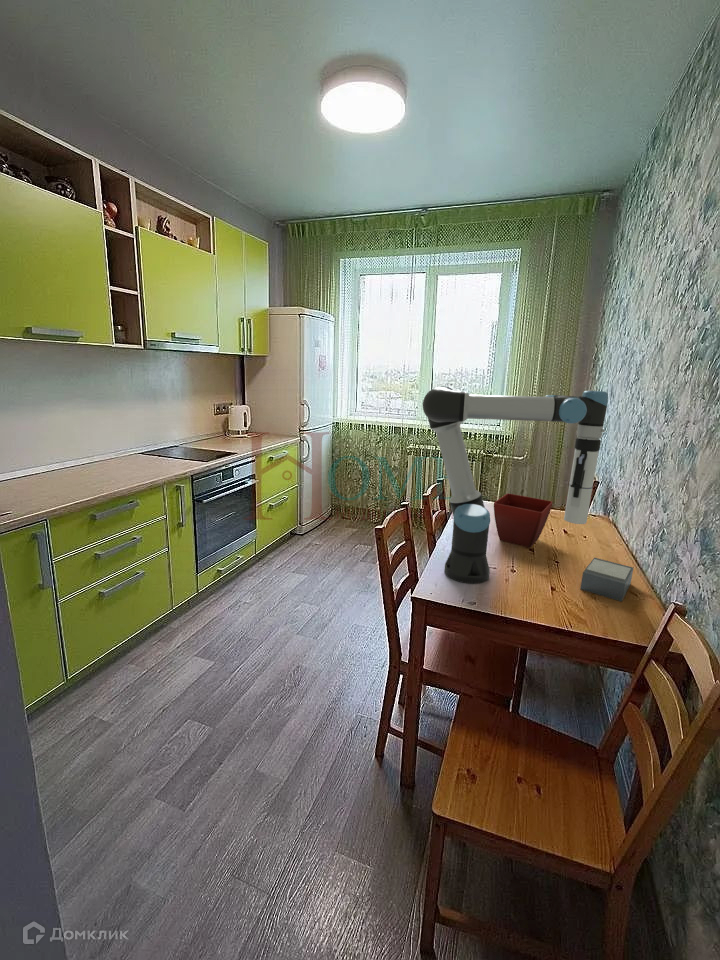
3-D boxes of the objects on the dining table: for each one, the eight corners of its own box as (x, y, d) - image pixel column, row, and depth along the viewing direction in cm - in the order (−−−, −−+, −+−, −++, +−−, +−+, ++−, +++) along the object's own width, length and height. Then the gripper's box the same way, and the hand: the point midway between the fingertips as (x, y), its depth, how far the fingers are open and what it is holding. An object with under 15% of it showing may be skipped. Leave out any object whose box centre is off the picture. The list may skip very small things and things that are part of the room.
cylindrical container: (566, 522, 152) (577, 450, 146) (562, 516, 158) (573, 447, 152) (588, 525, 150) (601, 452, 144) (583, 518, 157) (595, 449, 151)
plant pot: (536, 553, 173) (542, 512, 169) (488, 541, 184) (492, 502, 180) (548, 539, 189) (553, 501, 185) (503, 529, 199) (507, 493, 195)
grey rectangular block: (621, 601, 137) (625, 582, 136) (580, 589, 145) (583, 571, 143) (630, 584, 149) (633, 566, 148) (591, 573, 157) (594, 556, 155)
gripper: (594, 442, 138) (582, 512, 143) (607, 436, 153) (596, 500, 158) (568, 439, 142) (557, 507, 148) (583, 434, 157) (573, 496, 163)
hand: (577, 503), depth 153 cm, fingers closed on cylindrical container, 7 cm apart
